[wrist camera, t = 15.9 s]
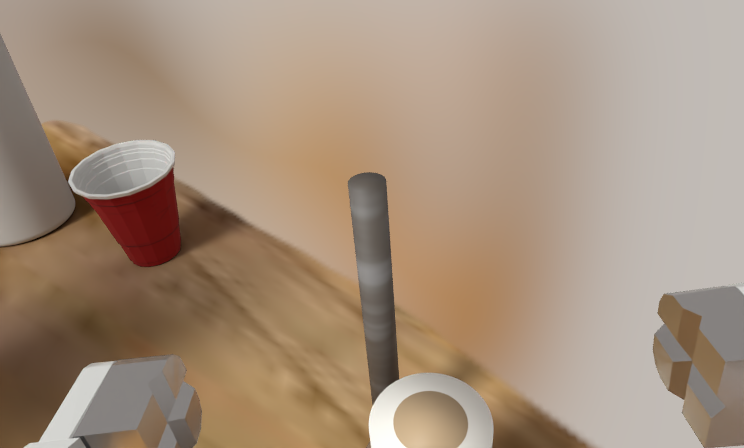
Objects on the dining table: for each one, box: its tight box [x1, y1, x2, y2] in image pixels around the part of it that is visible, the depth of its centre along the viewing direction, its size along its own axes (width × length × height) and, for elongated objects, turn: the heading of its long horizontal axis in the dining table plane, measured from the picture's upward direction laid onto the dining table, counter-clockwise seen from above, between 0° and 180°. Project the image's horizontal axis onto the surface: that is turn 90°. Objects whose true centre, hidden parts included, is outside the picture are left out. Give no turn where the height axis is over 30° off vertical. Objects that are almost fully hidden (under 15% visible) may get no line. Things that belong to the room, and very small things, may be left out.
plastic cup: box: [68, 140, 181, 267], centre depth 61 cm, size 11×11×12 cm
